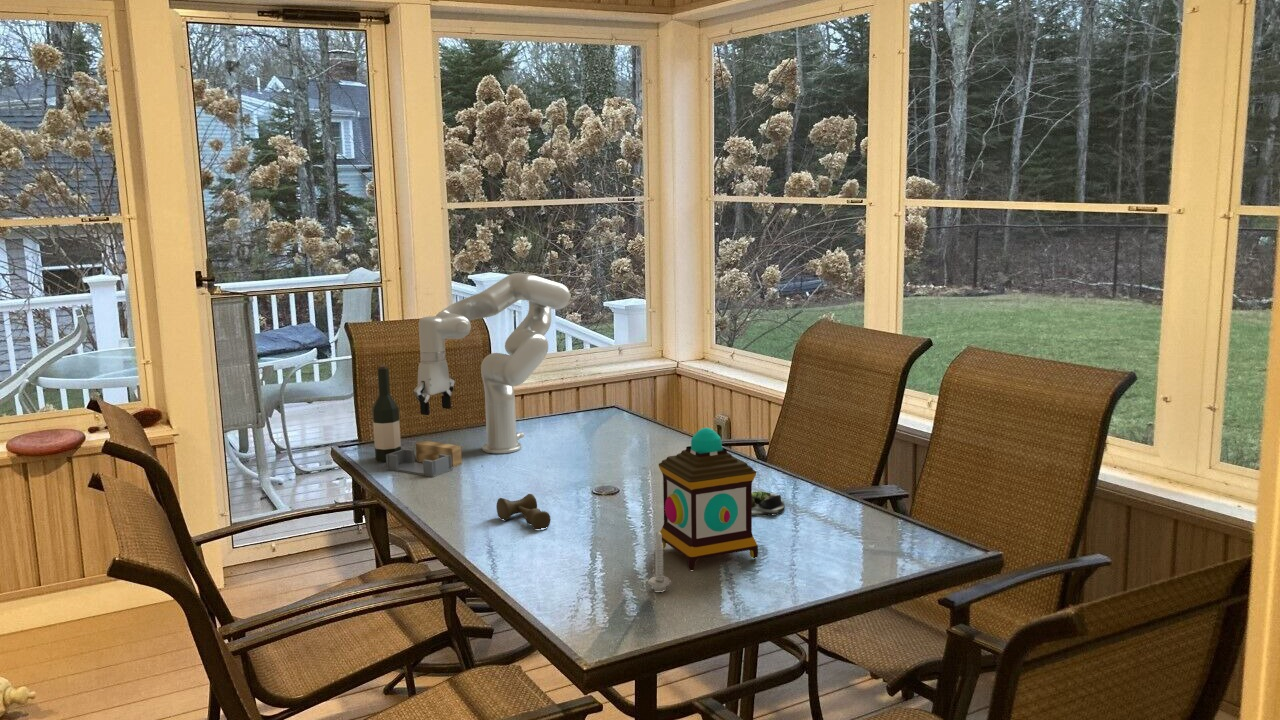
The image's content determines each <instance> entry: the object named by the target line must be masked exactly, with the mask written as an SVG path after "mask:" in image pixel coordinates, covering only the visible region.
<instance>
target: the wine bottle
mask: <svg viewBox="0 0 1280 720" xmlns="http://www.w3.org/2000/svg"><path fill="white" fill-rule="evenodd" d="M389 371H390V370H389V368H388V366H387V364H385V365H384V364H382V365H378V368H377V378H378V379H377V383H378V396H377V398H376V400H375V402H374V404H373V405H372V407H371V411H372V425H373V426H372V427H373V440H374V455H375V456H374V457H375V461H376V462H377V463H386V454H389V453H393V452H396V451H399V450H402V445H401V444H402V443H401V441H402V439H401V425H400V411H399V410H400V409H399V406H398V405H397V402H396V401H395V400H394V399H393V396H392V395H391V391H390V375H389V374H390V373H389Z"/></svg>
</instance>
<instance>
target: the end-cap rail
mask: <svg viewBox="0 0 1280 720" xmlns="http://www.w3.org/2000/svg"><path fill="white" fill-rule="evenodd" d="M385 463H386V467H385V468H386V470H390V471H394V470H395V471H396V472H400V471H401V472H402V473H406V472H408V474H412V473H414V474H413V475H418V474H420V475H419V476H424V475H425V476H426V477H430V476H431V477H430V478H434V477H438V476H440V475H443V474H446V473H448V471H449V472H451V471H453V467H452V462H451V455H444V454H440V455H439V459H436V460H433V461H432V460H426V459H425V460H423V462H418V461H415V449H410V448H407V447H406V448H403V449H402V448H401V450H399V451H396V452H393V453H389V454H386V462H385ZM437 475H438V476H437ZM425 476H424V477H425Z"/></svg>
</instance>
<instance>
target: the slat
mask: <svg viewBox="0 0 1280 720" xmlns="http://www.w3.org/2000/svg"><path fill="white" fill-rule="evenodd" d="M415 454H416V455H415V456H416V458H415V459H416V462H418V461H420V462H419V463H423V460H425V459H426V460H432V461H433V460H436V459H439V455H440V454H444V455H451V462H452V468H455V467H458V466H460V464H461V465H462V464H463V461H462V460H463V459H462V446H461V445H457V444H452V443H451V444H450V443H445V442H444V443H443V442H437V441H429V440H422V441H419V442H415ZM457 465H458V466H457Z"/></svg>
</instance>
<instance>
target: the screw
mask: <svg viewBox="0 0 1280 720" xmlns="http://www.w3.org/2000/svg"><path fill="white" fill-rule="evenodd" d="M662 544H663V542H662V534H661V533H660V531H657V532H656V533H655V544H654V545H655V546H654V548H655V549H654V551H655V552H654V554H655V555H654V556H655V557H654V562H655V563H654V564H655V565H654V572H655V576H652V577H650V578H649V579H648V581H647V583H648V585H649V586H651V587H653V591H654V590H655V591H663V590H666V591H667V587H668V586H670V585H671V584H672V580H671V579H670V577H667V576H665V575H664V574H665V572H664V571H665V569H664V568H665V567H664V565H665V564H664V563H665V562H664V560H665V559H664V552H665V551H664V549H665V548H663V545H662ZM655 591H654V592H655Z"/></svg>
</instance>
